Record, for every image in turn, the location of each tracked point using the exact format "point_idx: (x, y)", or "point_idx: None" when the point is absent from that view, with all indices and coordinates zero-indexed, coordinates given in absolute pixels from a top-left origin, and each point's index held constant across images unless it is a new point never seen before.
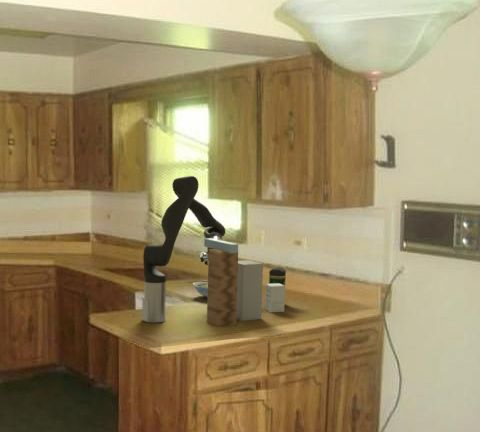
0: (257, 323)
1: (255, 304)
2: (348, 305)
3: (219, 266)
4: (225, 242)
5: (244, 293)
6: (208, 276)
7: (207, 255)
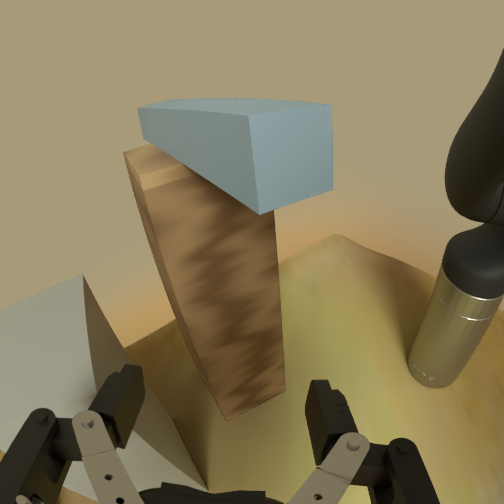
0: None
1: None
2: None
3: None
4: (173, 102)
5: None
6: (276, 274)
7: (332, 470)
